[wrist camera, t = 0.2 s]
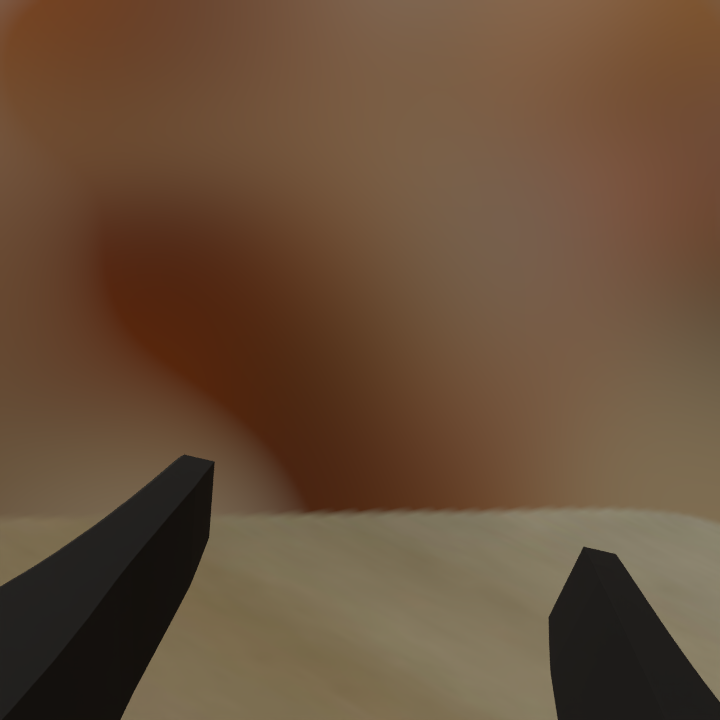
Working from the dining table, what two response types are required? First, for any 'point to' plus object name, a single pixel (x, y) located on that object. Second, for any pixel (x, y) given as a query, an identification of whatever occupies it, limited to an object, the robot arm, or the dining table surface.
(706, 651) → the dining table surface
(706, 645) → the dining table surface
